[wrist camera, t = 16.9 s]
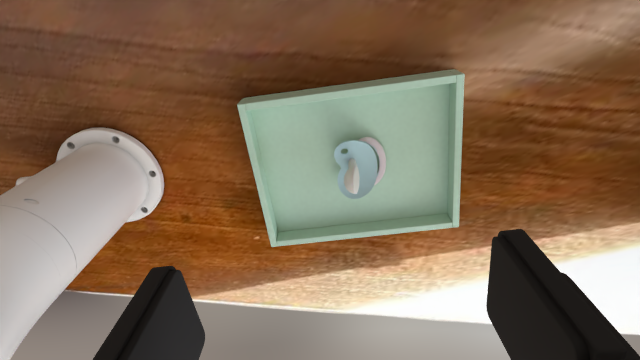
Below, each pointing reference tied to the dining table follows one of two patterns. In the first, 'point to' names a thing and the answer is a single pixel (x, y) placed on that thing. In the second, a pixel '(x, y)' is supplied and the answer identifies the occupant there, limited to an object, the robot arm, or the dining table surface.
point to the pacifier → (359, 166)
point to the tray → (336, 127)
